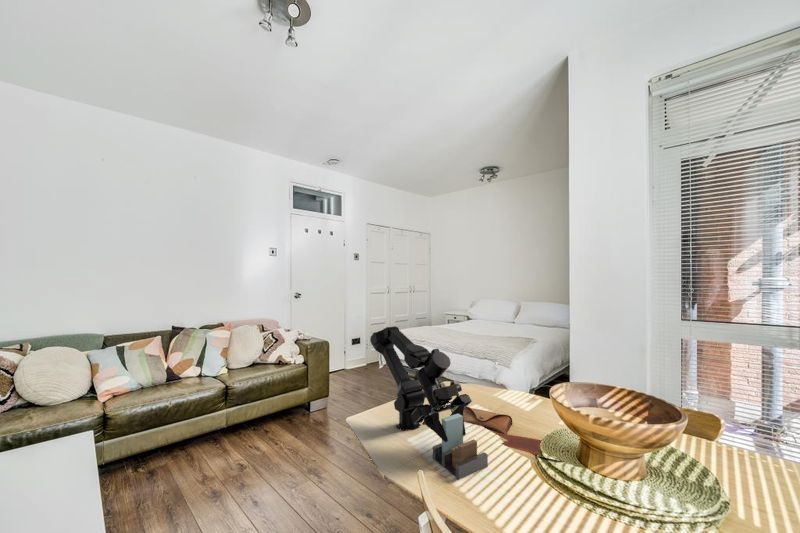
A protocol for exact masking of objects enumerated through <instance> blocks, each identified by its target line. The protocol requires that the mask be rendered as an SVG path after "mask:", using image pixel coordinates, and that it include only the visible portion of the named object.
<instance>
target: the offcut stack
mask: <svg viewBox="0 0 800 533" xmlns="http://www.w3.org/2000/svg"><path fill="white" fill-rule="evenodd" d="M476 455H478V442H477V440H475V439H471V440H468V441H466V442H463V444H460V445H458V446H456V447H455V448H453V449H452V466H453V467H454V468H455V469H456V464H457V463H459V462H462V461H464V460H466V459H469V458H471V457H474V456H476Z"/></svg>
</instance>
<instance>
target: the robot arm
mask: <svg viewBox="0 0 800 533" xmlns="http://www.w3.org/2000/svg"><path fill="white" fill-rule="evenodd" d="M369 340H370V343H371V345H372V348H374V350H375V351H376V352H378V354H381V355H382V356H383V359H384V361H385V363H386V365H387V367H388V368H389V371H390V373H391V375H392V377H393V379H394V381H395V383H396V385H397V395H396V396H397V398H396V399H395V400H394V401H393V406H394V410H396V411H397V412H398V415H399V416H398V419H399V420H398V422H399V423H397V424H396V425H395V427H396V428H398V429H400V430H401V431H408V430H413V431H414V430H415V431H416V430H417V429H419V428H420V427H421V426H426V427H427V428H428V429H430V430H431V431H433V432H434V434H436V435H437V436H438V437H439V438H440V439H441V441H442V440H443V441H445V442H447V441H448V439H447V436H446V433H445V431H444V429H443V427H442V421H441V420H440V413H441V412H445V411H449V410H450V411H451V412H450V413H451V414H449V416H452V415H455V414H460V415H462V416H463V410H464V408H465V407H469V405H470V404H471V403H472V402H473V401H472V399H471V397H470V395H469V394H467V393H463V394H459V393H461V392H462V385H461V384H460V381H458V380H453V381H450V383H449V385H447V386H446V384H445V383H444V382H442V383H441V381H440V380H439V379H440V378H441V377H442V376H443V375H444V373H445V372H446V371H447V370H448V369H449V367H450V366H451V364H452V363H451V359H450V357H449V356H448V355H447V354H446V353H444V352H443V351H440V349H439V348H433V349H432V350H431V351H429V350H428V348H425V347H424V346H422V345H420V344H415V343H414V342H413V341H412V340H410V339H409V338H408V337H407V336H406V335H405V334H404V333H403V332H402V331H400V329H399V327H398V326H387V327H385V328H383V329H381V330H378V331H376V332H375V331H374V332H372V334H371V336H370V339H369ZM394 346H395V347H396V348H397V349H398V350H399V352H401V353H402V355H403V356H404V357H403V358H404V359H403V360H404V362H405V363H406V365H407V366H408V368H409V369H411V370H415V369H419V370H416V371H415V375H414V377H413V378H414V379H411V378H410V375H409V374H408V372H407V370H406V368H405V366H404V364H403V363H402V361H401V358H400V357H399V355H398V353H397V351H396V349H395V348H394ZM453 397H454V398H453ZM452 399H453V400H452ZM425 400H427V402H428V403H426V404H425ZM451 400H452V401H451ZM465 427H466V426H465V422H464V420H463V437H464V436H466V434H467V433H466V428H465Z"/></svg>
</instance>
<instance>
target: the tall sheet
mask: <svg viewBox="0 0 800 533" xmlns="http://www.w3.org/2000/svg"><path fill="white" fill-rule="evenodd" d="M441 424H442V427H443V429H444V431H445V433H446V436H447V439H448V441H447V442H445V441H443V440H442V439H441V443H442V453H444V452H447V451H449V450H452V449H453V448H455V447H456V446H458V445H460V444H463V443H464V436H463V416H462V415H460V414H455V415H452V416H450V415H449V416H446V417H442V418H441Z"/></svg>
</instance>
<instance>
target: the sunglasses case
mask: <svg viewBox="0 0 800 533" xmlns="http://www.w3.org/2000/svg"><path fill="white" fill-rule="evenodd" d="M463 420H464V423H467V424H471V425H477V426H481V427H482V428H484V429H486V430H488V431H491V432H495V433H501V434H508V432H509V431H510V429H511V427H512V426H513V418H512V416H510V415H509V414H504V413H503V414H500V413H496V412H493V411H488V410H483V409H479V408H473V407H469V406H467V407H465V408H464V410H463Z"/></svg>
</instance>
